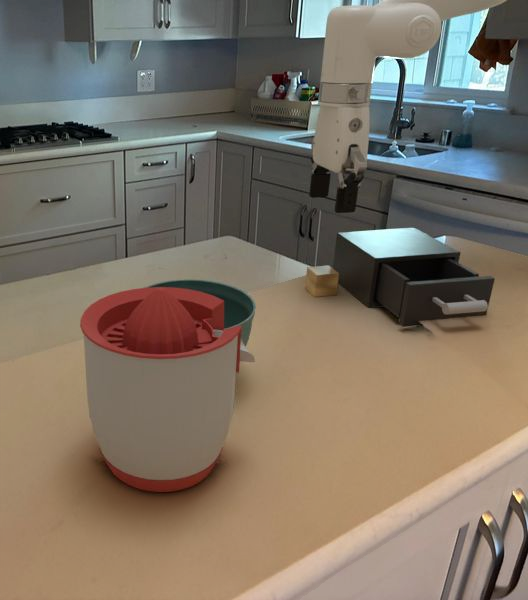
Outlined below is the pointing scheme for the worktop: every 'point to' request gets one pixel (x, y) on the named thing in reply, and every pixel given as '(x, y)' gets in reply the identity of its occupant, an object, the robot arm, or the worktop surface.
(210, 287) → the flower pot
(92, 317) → the citrus juicer
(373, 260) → the grey drawer box
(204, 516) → the worktop surface
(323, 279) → the block
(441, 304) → the mini dresser drawer
